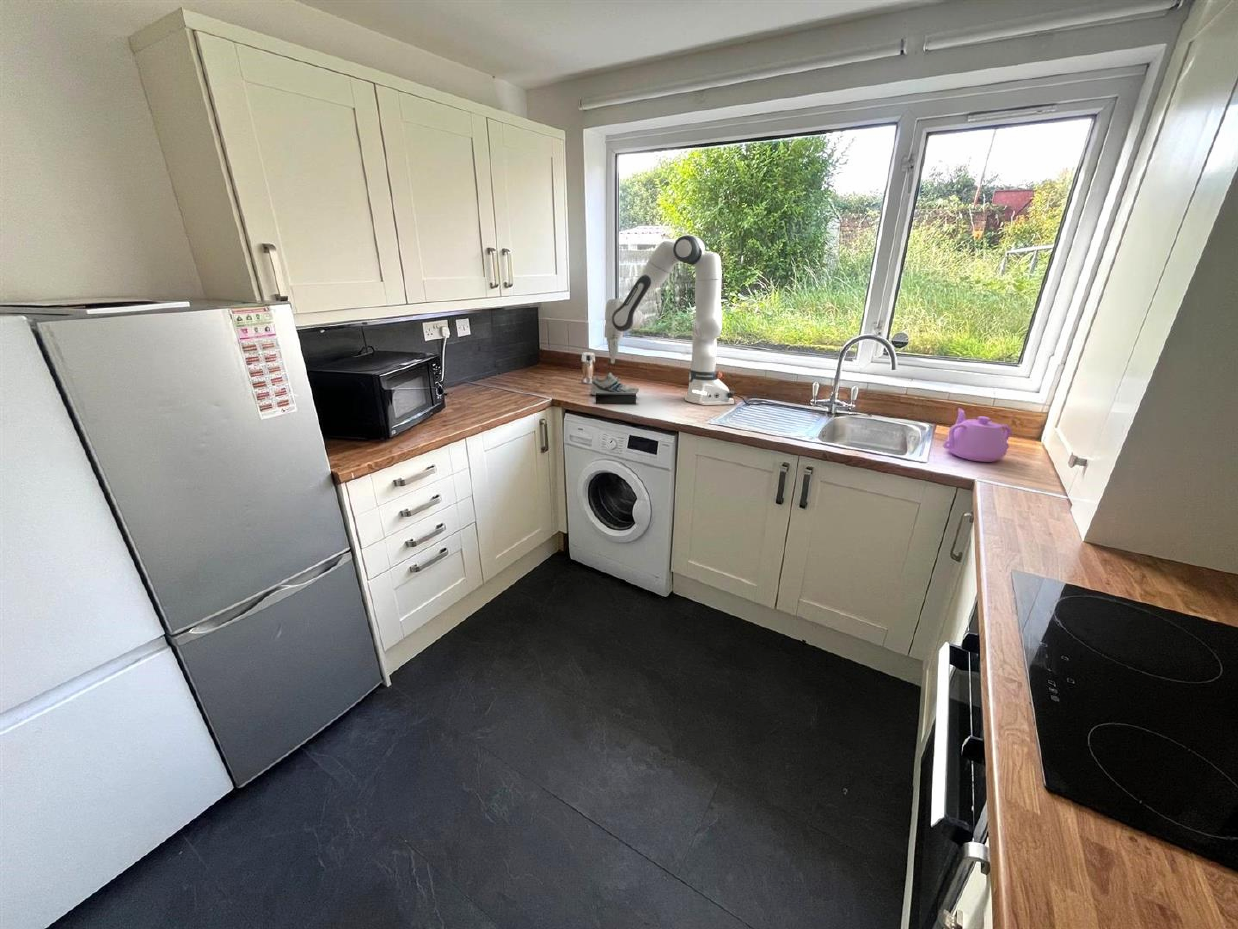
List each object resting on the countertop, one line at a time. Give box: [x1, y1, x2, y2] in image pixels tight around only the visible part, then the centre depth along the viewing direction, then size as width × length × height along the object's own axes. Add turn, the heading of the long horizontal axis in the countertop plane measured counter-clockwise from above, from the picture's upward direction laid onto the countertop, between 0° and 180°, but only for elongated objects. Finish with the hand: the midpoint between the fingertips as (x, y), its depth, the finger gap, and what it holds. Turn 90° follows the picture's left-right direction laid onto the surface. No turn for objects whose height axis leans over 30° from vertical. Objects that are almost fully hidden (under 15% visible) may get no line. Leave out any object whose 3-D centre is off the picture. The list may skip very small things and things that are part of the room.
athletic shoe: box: [589, 372, 640, 397], centre depth 234 cm, size 10×23×12 cm, turn 89°
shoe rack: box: [595, 392, 637, 405], centre depth 221 cm, size 18×2×5 cm, turn 94°
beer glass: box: [581, 352, 596, 385], centre depth 258 cm, size 7×7×15 cm
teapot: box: [942, 407, 1012, 463], centre depth 170 cm, size 22×22×14 cm
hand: (612, 362), depth 243 cm, fingers closed
